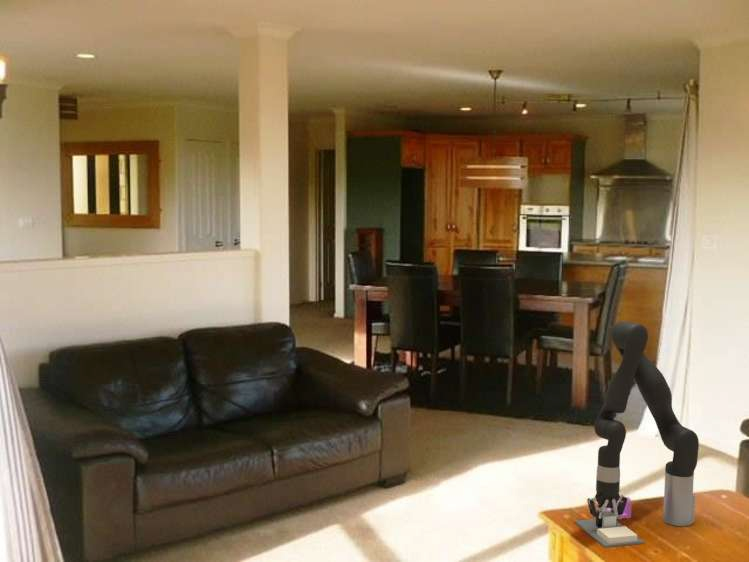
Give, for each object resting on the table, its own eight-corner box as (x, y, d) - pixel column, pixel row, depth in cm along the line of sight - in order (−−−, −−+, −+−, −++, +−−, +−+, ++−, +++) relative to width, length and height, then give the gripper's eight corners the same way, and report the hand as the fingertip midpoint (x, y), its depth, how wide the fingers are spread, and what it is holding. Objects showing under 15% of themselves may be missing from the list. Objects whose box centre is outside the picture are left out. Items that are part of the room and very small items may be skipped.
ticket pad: (611, 519, 295) (611, 511, 295) (644, 543, 275) (644, 535, 275) (574, 522, 292) (574, 514, 292) (604, 547, 272) (605, 539, 272)
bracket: (630, 518, 297) (631, 499, 296) (616, 520, 295) (617, 500, 294) (610, 505, 309) (611, 486, 308) (596, 506, 307) (597, 487, 307)
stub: (608, 525, 288) (609, 509, 287) (616, 531, 283) (616, 515, 282) (596, 526, 287) (597, 510, 286) (603, 532, 282) (604, 516, 281)
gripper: (621, 472, 288) (619, 521, 290) (583, 475, 285) (581, 525, 287) (633, 480, 281) (631, 530, 283) (593, 483, 278) (592, 533, 280)
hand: (606, 527), depth 285 cm, fingers closed on stub, 4 cm apart
